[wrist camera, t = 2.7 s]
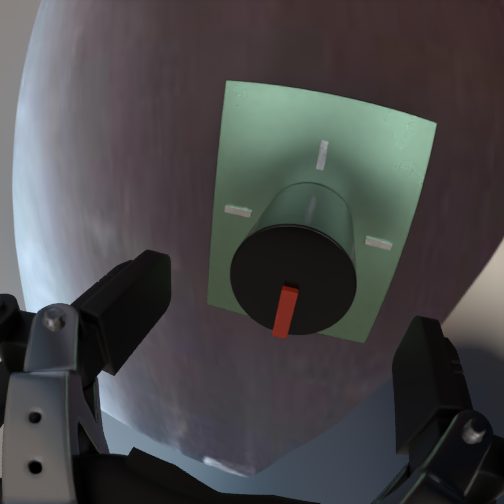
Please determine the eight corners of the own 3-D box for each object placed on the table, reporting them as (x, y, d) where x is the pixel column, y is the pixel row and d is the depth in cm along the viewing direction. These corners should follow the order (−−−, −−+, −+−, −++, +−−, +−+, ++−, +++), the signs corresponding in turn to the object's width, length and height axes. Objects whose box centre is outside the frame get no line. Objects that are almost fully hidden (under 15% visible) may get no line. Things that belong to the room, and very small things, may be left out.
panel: (243, 83, 16) (224, 79, 13) (421, 119, 14) (438, 122, 11) (223, 280, 22) (205, 306, 19) (363, 314, 20) (364, 345, 17)
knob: (271, 174, 15) (232, 214, 10) (362, 194, 14) (374, 246, 9) (259, 255, 17) (222, 323, 12) (340, 274, 16) (335, 352, 11)
